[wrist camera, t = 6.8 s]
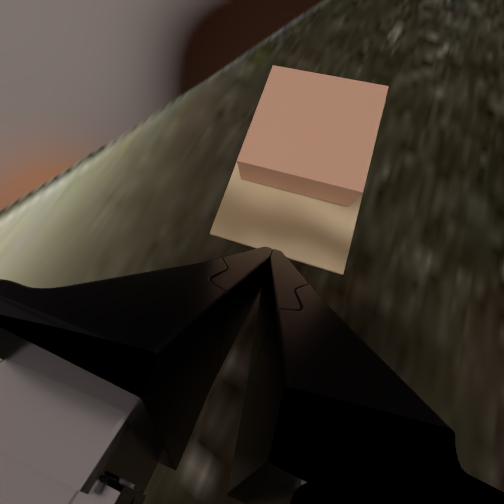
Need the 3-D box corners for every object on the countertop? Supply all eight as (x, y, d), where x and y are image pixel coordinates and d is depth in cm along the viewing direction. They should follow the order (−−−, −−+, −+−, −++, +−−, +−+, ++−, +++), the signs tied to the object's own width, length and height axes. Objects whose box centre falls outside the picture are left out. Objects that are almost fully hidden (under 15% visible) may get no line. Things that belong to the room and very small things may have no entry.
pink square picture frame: (362, 192, 14) (388, 86, 15) (236, 160, 15) (273, 65, 17) (347, 207, 16) (370, 115, 18) (240, 179, 18) (271, 95, 19)
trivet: (341, 274, 16) (343, 274, 15) (210, 234, 17) (209, 233, 17) (382, 103, 19) (385, 99, 18) (268, 81, 20) (268, 77, 20)
